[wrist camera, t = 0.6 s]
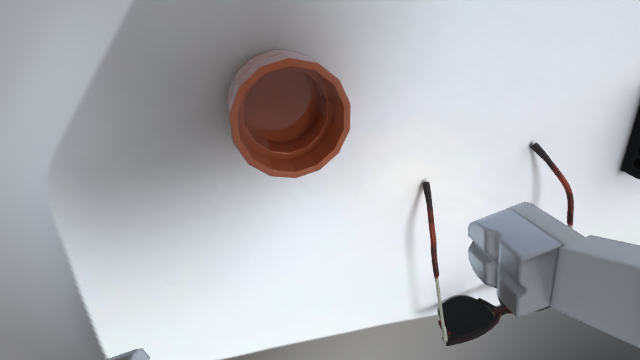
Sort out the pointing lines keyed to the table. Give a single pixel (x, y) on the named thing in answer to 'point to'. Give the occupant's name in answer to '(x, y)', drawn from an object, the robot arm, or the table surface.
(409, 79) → the table surface
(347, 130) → the bowl
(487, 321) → the sunglasses
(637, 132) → the battery charger
